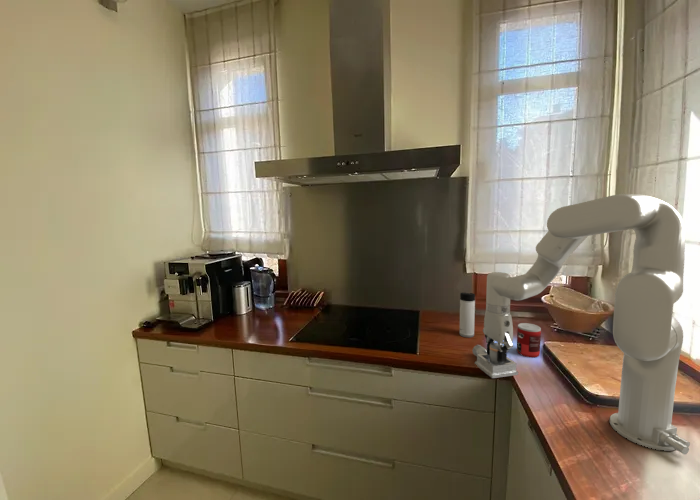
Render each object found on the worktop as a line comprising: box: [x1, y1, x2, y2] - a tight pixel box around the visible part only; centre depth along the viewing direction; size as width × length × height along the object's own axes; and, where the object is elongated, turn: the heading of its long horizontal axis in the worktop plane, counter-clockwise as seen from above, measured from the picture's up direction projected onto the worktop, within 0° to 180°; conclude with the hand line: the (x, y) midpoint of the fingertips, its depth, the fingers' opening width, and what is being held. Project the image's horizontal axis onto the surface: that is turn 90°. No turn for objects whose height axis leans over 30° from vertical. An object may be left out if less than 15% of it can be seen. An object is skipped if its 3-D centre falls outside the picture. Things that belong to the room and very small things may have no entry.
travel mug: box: [459, 292, 476, 339], centre depth 139 cm, size 6×7×20 cm
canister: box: [490, 342, 504, 364], centre depth 109 cm, size 5×5×8 cm
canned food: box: [516, 322, 542, 358], centre depth 120 cm, size 8×8×11 cm
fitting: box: [472, 344, 519, 379], centre depth 112 cm, size 16×10×4 cm, turn 11°
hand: (496, 357), depth 109 cm, fingers open, 5 cm apart
